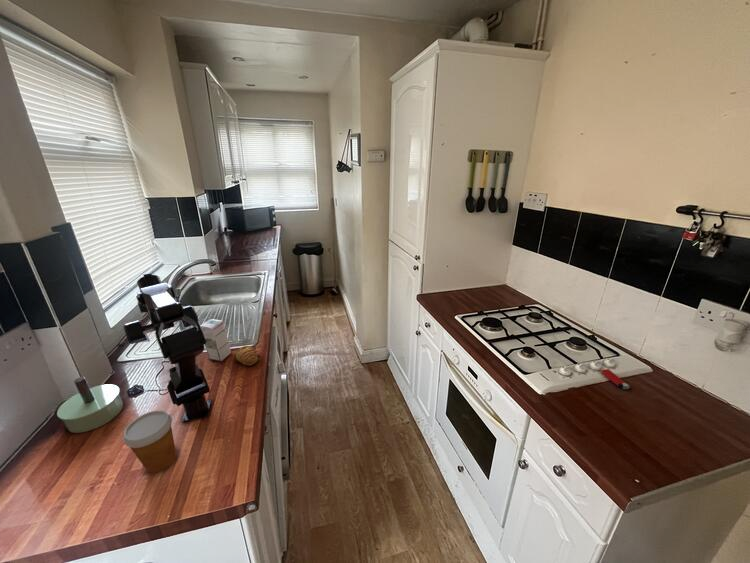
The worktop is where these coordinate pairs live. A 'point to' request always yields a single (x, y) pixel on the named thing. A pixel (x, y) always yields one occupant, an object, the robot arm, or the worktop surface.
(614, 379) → the lighter
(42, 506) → the worktop surface
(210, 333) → the syrup box
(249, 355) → the pastry
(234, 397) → the worktop surface
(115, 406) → the pot
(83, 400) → the lid
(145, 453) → the disposable coffee cup
